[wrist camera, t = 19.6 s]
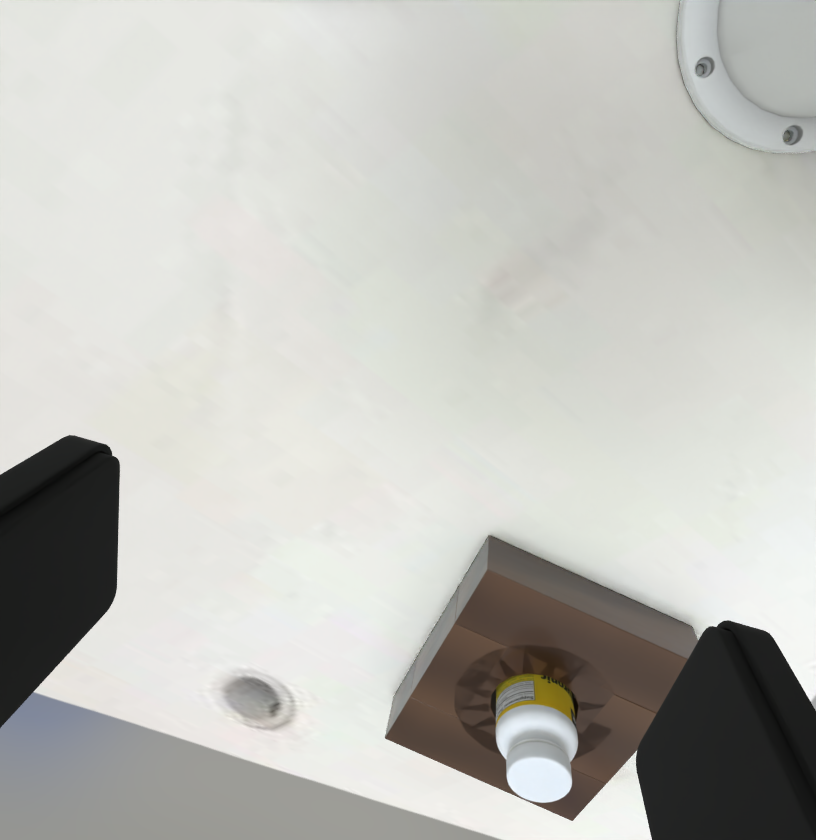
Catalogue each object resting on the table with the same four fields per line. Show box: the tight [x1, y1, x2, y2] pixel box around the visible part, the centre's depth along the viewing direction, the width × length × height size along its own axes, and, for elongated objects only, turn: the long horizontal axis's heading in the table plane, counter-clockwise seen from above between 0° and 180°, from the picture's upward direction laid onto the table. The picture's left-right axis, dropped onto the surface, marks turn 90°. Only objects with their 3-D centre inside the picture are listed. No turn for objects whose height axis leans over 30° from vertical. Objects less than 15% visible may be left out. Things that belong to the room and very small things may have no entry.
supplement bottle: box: [496, 674, 578, 803], centre depth 41 cm, size 5×5×10 cm
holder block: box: [385, 536, 698, 821], centre depth 43 cm, size 18×16×4 cm
